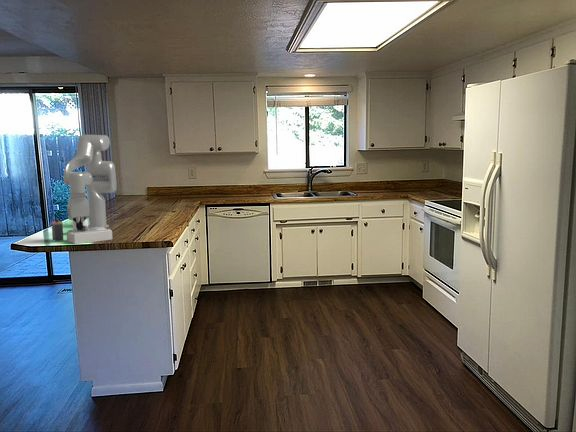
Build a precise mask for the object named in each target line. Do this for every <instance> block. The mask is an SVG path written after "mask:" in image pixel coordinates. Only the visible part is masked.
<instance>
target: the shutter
mask: <svg viewBox="0 0 576 432" xmlns="http://www.w3.org/2000/svg"><path fill="white" fill-rule="evenodd" d="M88 226H89V225H88ZM88 226H85V225H83V228H82V230H80V231H82V232H84V231H93V230H97V229H94V228H92V229H88Z"/></svg>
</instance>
